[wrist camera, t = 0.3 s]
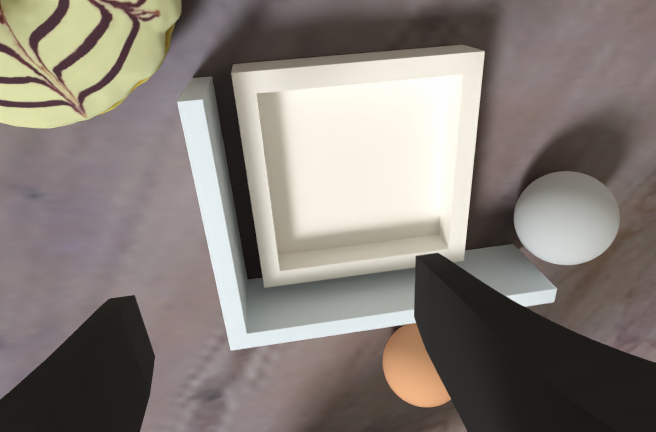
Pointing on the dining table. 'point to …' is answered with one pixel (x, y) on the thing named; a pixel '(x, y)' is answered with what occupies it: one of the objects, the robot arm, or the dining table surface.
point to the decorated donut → (77, 56)
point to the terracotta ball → (412, 369)
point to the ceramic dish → (359, 159)
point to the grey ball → (566, 218)
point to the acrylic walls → (324, 295)
